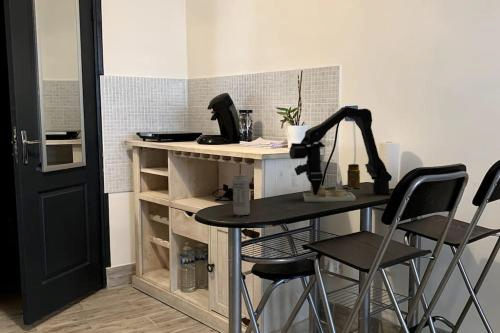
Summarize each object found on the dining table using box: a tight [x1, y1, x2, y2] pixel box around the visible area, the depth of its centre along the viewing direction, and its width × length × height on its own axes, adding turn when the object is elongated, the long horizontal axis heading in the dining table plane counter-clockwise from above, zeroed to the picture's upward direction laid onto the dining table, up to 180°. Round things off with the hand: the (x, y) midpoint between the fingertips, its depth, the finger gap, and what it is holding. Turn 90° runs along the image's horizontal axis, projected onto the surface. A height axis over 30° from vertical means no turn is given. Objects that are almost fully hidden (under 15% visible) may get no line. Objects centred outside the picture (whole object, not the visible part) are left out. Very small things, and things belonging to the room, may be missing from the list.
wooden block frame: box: [310, 185, 348, 198], centre depth 217 cm, size 15×9×5 cm, turn 86°
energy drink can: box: [232, 173, 251, 216], centre depth 185 cm, size 6×6×15 cm
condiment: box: [346, 163, 361, 188], centre depth 250 cm, size 7×8×12 cm
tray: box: [303, 191, 356, 203], centre depth 218 cm, size 21×14×2 cm
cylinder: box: [334, 180, 343, 190], centre depth 231 cm, size 3×3×6 cm
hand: (314, 193), depth 218 cm, fingers open, 9 cm apart
